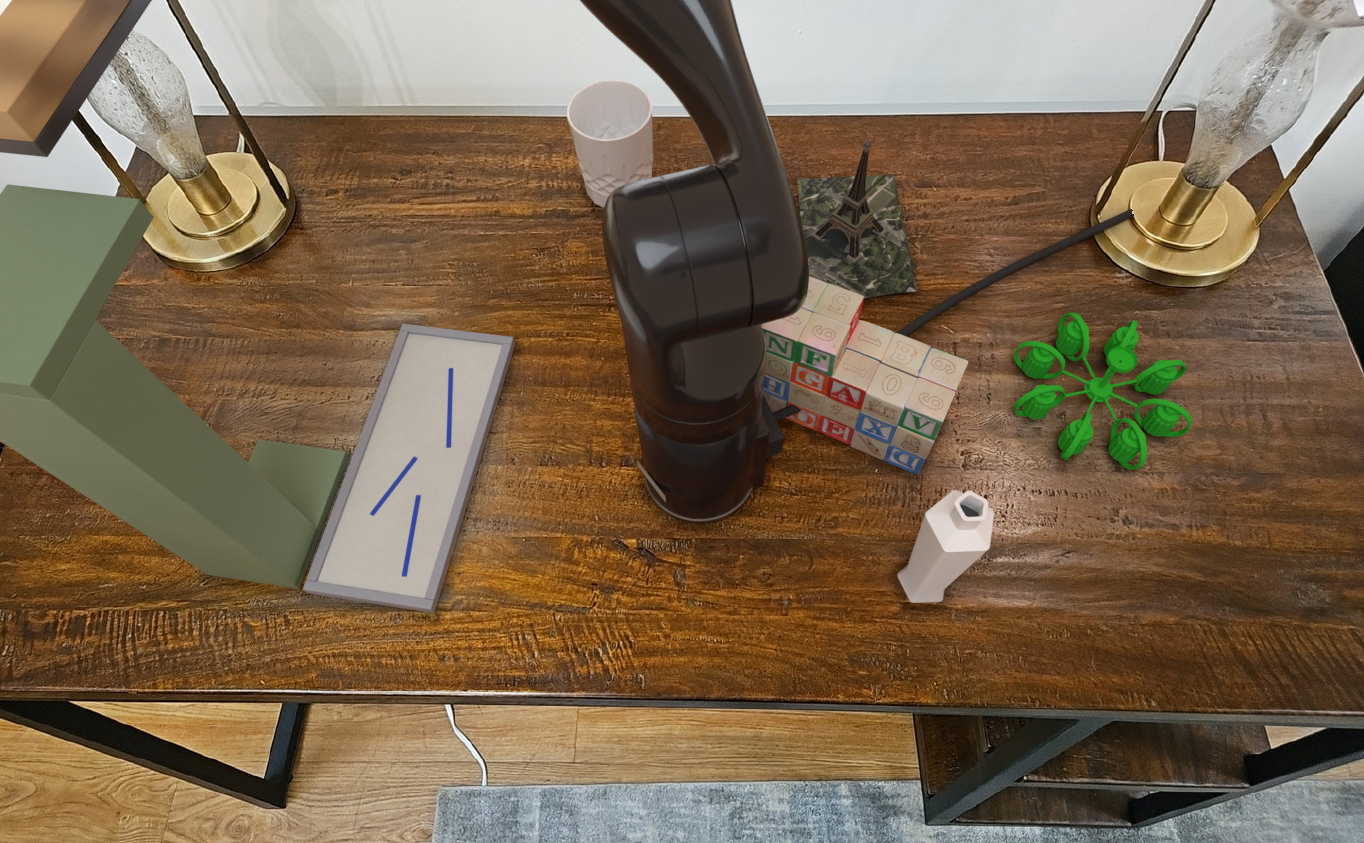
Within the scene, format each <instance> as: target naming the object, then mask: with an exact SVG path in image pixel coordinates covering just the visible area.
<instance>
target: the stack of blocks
mask: <svg viewBox="0 0 1364 843" xmlns="http://www.w3.org/2000/svg"><path fill="white" fill-rule="evenodd" d="M864 301H865V298H864V296H862V295H860V294H857V293H854V292H852V291H849V290H846V289H843V288H841V287H838V286H835V285H833V284H827V283H825V282H823V281H821V280H818V279H815V278H813V277H809V285H808V293H807V297H806V300H805V302H804V304H803V306H802V307H801V309H800V310H799V311H798V312H796V313H795V314H793V315H791V316H789V317H786V318H783V319H779V320H775V321H772V322H768V323H764V324H760V326H761V328H762V330H763V333H764V336H765V340H766V351H767V355H766V367H765V376H764V386H763V395H764V397H765V399H766V401H767V403H768V405H769V407H770V409H771V411H772V413H773V412H775V411H778V410H780V409H783V408H785V407H787V406H790V405H795V406H797V407H798V408H800V409H801V411H800V412H798V413H795V414H793V415H791V416H788V417H786V418H785V419H787V420H789V421H791V422H795V424H799V425H800V426H803V427H806V428H808V429H810V430H812V431H814V432H818V433H821V434H823V435H825V436H828V437H830V438H832V439H835V440H837V441H839V442H842V443H844V444H847V445H850V447H851V448H853V449H855V450H858V451H860V452H862V453H865V454H867V455H869V456H871V457H874V458H875V459H878V460H881V461H884V462H886V463H888V464H890V465H892V466H895V467H897V468H900V469H902V470H904V471H907V472H908V473H911V474H914V475H917V476H918V475H919V474H920V472H921V470H922V468H923V467H924V464H925V462H926V459H927V458H928V457H929V454H930V453H931V450H932V448H933V446H934V444H935V442H936V439H937V437H938V434H939V432H940V431H941V428H942V426H943V424H944V421H945V420H946V417H947V414H948V412H949V409H950V407H951V404H952V402H953V401H954V397H955V395H956V392H957V389H958V387H959V385H960V383H961V381H962V378H963V376H964V373H965V372H966V369H967V367H968V364H969V360H967V359H965V358H963V357H959V356H957V355H954V354H952V353H949V352H946V351H944V350H941V349H938V348H935V347H932V346H931V345H929V344H927V343H924V342H921V341H919V340H916V339H915V338H914V339H913V338H911V337H908V336H907V337H906V336H903V335H901V334H898V332H895V331H893V330H891V329H889V328H885V327H883V326H880V325H877V324H874V323H871V322H869V321H866V320H860V318H861V314H862V309H863V305H864Z"/></svg>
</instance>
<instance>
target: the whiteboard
mask: <svg viewBox="0 0 1364 843" xmlns="http://www.w3.org/2000/svg"><path fill="white" fill-rule="evenodd" d="M515 347H516V341H515V338H514V337H513V336H507V335H500V334H491V333H483V332H475V331H468V330H461V329H450V328H443V327H435V326H434V327H433V326H427V325H417V324H409V323H402V324H401V326H400V329H399V332H398V333H397V337H396V340H395V342H394V345H393V347H392V350H391V353H390V355H389V358H388V361H387V363H386V366H385V369H384V370H383V374H382V376H381V379H380V382H379V385H378V388H377V390H376V393H375V395H374V398H373V401H372V403H371V407H370V409H369V411H368V414H367V416H366V419H365V422H364V425H363V427H362V430H361V432H360V435H359V438H358V441H357V443H356V446H355V447H354V448H355V449H354V451H353V453H352V457H351V459H350V462H349V464H348V468H347V470H346V472H345V475H344V477H343V480H342V484H341V486H340V488H339V491H338V494H337V496H336V499H335V501H334V504H333V507H332V509H331V512H330V514H329V517H328V520H327V523H326V526H325V528H324V531H323V533H322V536H321V539H320V542H319V544H318V547H317V549H316V552H315V554H314V558H313V560H312V563H311V566H310V568H309V571H308V573H307V576H306V580H305V582H304V583H303V584H304V585H303V587H302V590H303V591H304V592H306V593H307V594H310V595H315V596H322V597H328V598H335V599H341V600H347V601H353V602H360V603H366V604H367V603H368V604H373V605H378V606H386V607H392V608H397V609H403V610H404V609H405V610H410V611H418V612H423V613H428V614H429V613H430V614H435V613H436V610H437V606H438V603H439V600H440V597H441V594H442V590H443V587H444V584H445V581H446V577H447V574H448V570H449V567H450V565H451V561H452V557H453V554H454V551H455V548H456V547H455V546H456V544H457V540H458V538H459V534H460V530H461V526H462V524H463V520H464V518H465V514H466V510H467V507H468V503H469V500H470V497H471V494H472V491H473V486H474V483H475V481H476V477H477V473H478V470H479V467H480V464H481V461H482V456H483V454H484V450H485V446H486V444H487V440H488V438H489V434H490V430H491V427H492V424H493V420H494V417H495V413H496V410H497V407H498V405H499V404H498V403H499V400H500V397H501V394H502V391H503V387H504V385H505V382H506V381H505V380H506V377H507V373H508V370H509V367H510V363H511V360H512V356H513V353H514V350H515Z"/></svg>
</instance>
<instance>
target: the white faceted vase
mask: <svg viewBox="0 0 1364 843" xmlns="http://www.w3.org/2000/svg"><path fill="white" fill-rule="evenodd" d="M994 518H995V511H994V510H993V509H992V508H991V507H989V500H987V498H985V497H983V496H981V495H980V494H977V493H975V492H973V491H972V490H966V491H964V492H962V491H960V490H957V489H952V490H951V491H950V492H948V494H947V495H945V496H944V497H942V499H940V500H939V501H938V502H937V503H935V504H934V505H933V506H931V507H930V508H929V509H928V510H927V511H926V512H925V513H924V517H923V519H922V522H921V525H920V528H919V531H918V533H917V537H916V538H915V543H914V546H913V549H912V551H911V554H910V557H909V559H908V563H907V565H906V566H904V567H903V568H902V569H901V570H900V571H898V572H897V578H898V581H899V582H900V584H901V587H902V588H903V591H904V593H905V595H906V597H907V598H908V599H907V600H908V601H909V602H910V603H912V604H916V603H917V604H920V603H922V604H923V603H939V602H943V600H944V596H945V589H947V587H948V586H951V584H952V583H954V581H955V580H956V579H958V578H959V577H960V576H961V575H962V574H963V573H964V572H965V571H966V570H968V569H969V568H970V567H971V566H972V565H973V564H974V563H976V561H978V560H979V559H980V558H981V557H982V556H983V555H984V554H985V553H987V552H988V550H990V548H991V540H992V532H993V526H994V520H995V519H994Z"/></svg>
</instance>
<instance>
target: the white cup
mask: <svg viewBox="0 0 1364 843" xmlns="http://www.w3.org/2000/svg"><path fill="white" fill-rule="evenodd" d="M566 119H567V122H568V128H569V130H570V135H571V138H572V144H573V148H574V151H575V156H576V159H577V162H578V166H579V170H580V173H581V175H582V178H583V182H584V187H585V191H586V195H587V196H588V197H589V198H590V199H591V201H592V202H593V203H594V204H595V205H597V206H599V207H601V208H602V209H604V206H605V203H606V201H607V198H608V197H609V195H610V193H611V192H612V191H613V190H614V189H615V188H617V187H619V186H621V185H624V184H627V183H631V182H635V181H639V180H644V179H648V178H653V163H654V162H653V161H654V132H653V131H654V130H653V129H654V127H653V125H654V124H653V104H652V100H651V98H650V97H649V94H648V93H647V92H646V91H645V90H644V89H643V88H642V87H640V86H639V85H637V84H635V83H632V82H630V81H626V80H621V79H604V80H598V81H595V82H593V83H592V82H591V83H589V84H587V85H585V86H584V87H581V88H580V89H579V90H577V92H576V93H574V94H573V96H572V97H571V98H570V100H569V101H568V103H567V107H566Z"/></svg>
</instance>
